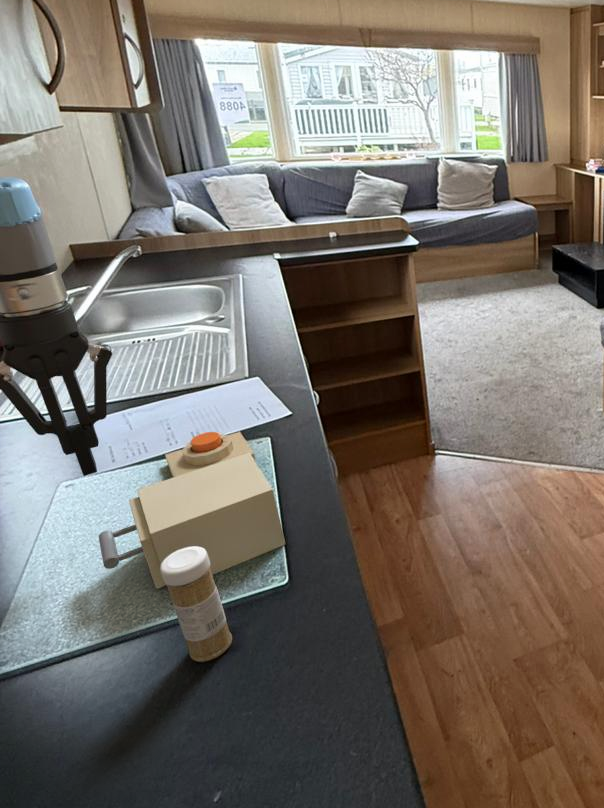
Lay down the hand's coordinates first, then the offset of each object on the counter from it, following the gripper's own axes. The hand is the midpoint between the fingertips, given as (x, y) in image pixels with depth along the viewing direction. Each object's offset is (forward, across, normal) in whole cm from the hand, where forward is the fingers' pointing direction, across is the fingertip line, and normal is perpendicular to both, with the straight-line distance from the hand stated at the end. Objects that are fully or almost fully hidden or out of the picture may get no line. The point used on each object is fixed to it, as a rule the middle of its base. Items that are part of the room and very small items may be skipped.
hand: (89, 469), depth 89 cm
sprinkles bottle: (+14, +7, -28) cm, 32 cm away
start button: (+10, +15, +16) cm, 24 cm away
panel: (+14, +15, +16) cm, 26 cm away
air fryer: (+14, +12, -8) cm, 20 cm away
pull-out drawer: (+13, +8, -8) cm, 17 cm away
